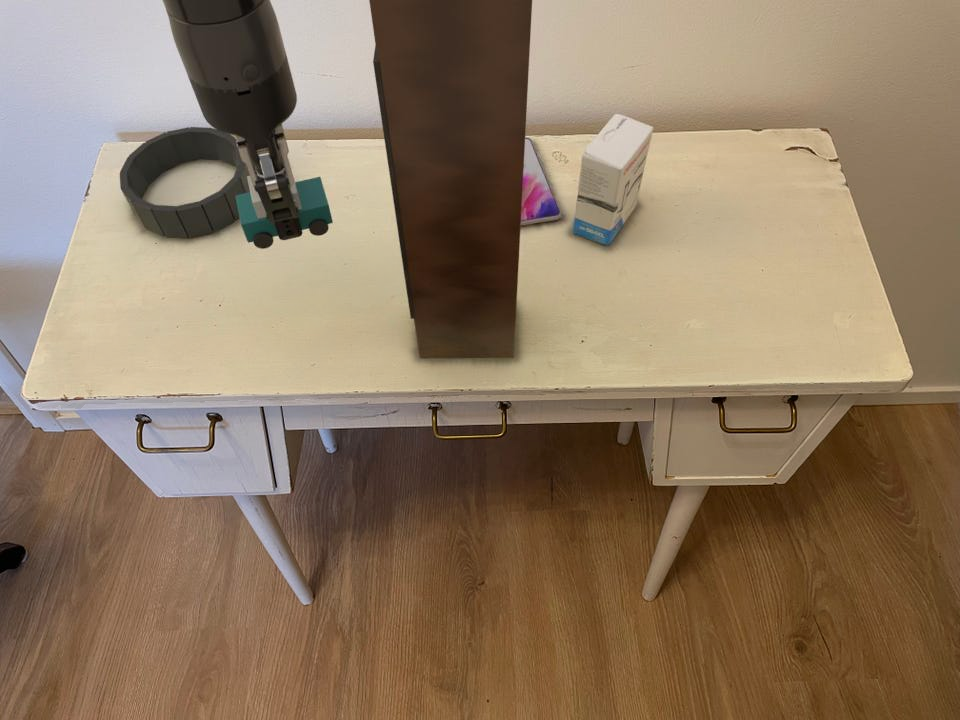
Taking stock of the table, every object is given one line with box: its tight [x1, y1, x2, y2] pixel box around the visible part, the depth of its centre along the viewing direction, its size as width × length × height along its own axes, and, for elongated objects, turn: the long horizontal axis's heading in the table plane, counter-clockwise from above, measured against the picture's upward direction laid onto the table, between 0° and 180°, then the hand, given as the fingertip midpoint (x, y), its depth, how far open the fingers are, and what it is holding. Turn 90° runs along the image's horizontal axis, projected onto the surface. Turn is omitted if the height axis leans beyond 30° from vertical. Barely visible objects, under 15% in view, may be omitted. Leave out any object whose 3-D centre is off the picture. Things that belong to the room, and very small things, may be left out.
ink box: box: [572, 113, 654, 247], centre depth 83 cm, size 9×5×12 cm, turn 148°
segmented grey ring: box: [119, 126, 250, 239], centre depth 89 cm, size 15×15×4 cm
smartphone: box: [521, 136, 562, 226], centre depth 91 cm, size 7×1×15 cm
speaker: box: [368, 0, 533, 359], centre depth 62 cm, size 10×7×40 cm
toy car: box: [236, 168, 334, 250], centre depth 67 cm, size 8×5×5 cm, turn 108°
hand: (286, 218), depth 69 cm, fingers closed on toy car, 4 cm apart
